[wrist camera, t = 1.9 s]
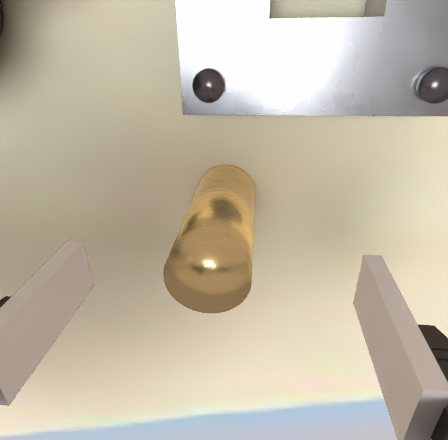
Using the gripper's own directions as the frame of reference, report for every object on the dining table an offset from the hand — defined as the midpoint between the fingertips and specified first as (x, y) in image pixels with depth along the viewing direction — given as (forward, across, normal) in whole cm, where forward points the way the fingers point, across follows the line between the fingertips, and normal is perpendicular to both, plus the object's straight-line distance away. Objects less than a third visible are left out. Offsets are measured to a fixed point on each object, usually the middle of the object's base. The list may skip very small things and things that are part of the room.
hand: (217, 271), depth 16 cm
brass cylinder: (+9, 0, 0) cm, 9 cm away
